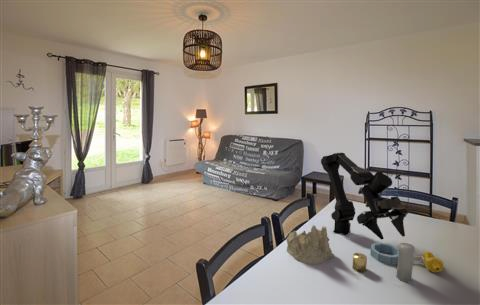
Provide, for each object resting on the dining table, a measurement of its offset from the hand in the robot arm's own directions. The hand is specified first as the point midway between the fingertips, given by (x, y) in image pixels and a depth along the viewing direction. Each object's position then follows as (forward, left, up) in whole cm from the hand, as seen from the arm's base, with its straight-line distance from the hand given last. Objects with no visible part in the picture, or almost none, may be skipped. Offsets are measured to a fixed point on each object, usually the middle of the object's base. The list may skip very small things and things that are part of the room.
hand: (393, 237), depth 92 cm
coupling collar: (-2, +8, -12) cm, 15 cm away
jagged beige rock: (-29, -5, -12) cm, 32 cm away
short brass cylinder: (-10, -6, -12) cm, 17 cm away
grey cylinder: (+4, -4, -12) cm, 13 cm away
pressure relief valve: (+10, +7, -12) cm, 17 cm away
